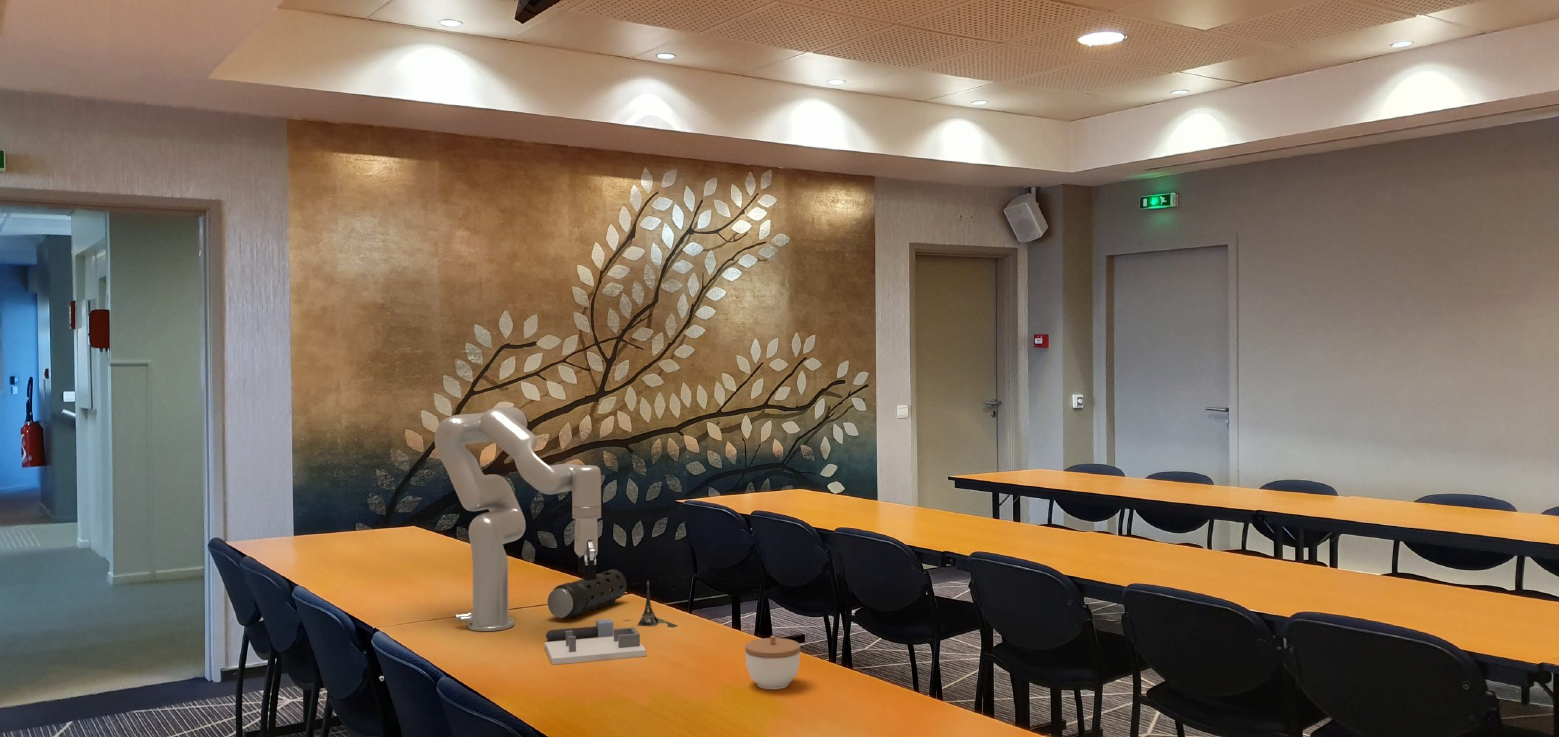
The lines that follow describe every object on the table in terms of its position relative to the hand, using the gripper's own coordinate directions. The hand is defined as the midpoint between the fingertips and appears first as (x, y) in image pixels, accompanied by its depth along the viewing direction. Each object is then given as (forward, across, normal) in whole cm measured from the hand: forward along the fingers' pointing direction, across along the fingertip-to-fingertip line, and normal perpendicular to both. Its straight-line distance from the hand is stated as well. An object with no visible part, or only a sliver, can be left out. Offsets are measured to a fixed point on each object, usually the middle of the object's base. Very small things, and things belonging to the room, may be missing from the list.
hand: (587, 576), depth 293 cm
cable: (+16, 0, -2) cm, 16 cm away
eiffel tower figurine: (+17, -9, +19) cm, 27 cm away
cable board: (+16, +15, -1) cm, 22 cm away
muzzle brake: (+17, -29, +4) cm, 34 cm away
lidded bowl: (+17, +56, +33) cm, 67 cm away
